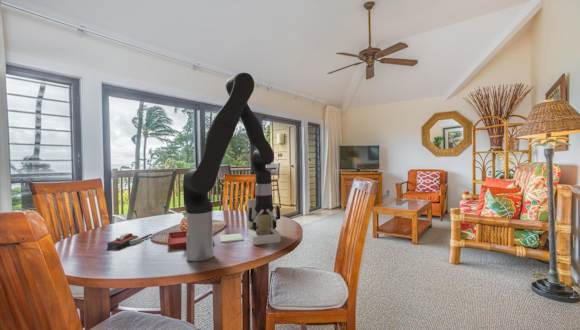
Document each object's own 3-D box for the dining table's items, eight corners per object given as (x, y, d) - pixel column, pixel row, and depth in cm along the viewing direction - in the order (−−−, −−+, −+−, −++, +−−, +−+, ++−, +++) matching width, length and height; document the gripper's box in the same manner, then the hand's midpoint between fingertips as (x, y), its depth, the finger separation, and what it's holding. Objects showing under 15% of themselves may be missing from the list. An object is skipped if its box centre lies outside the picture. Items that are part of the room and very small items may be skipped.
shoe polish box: (270, 238, 125) (269, 212, 125) (269, 241, 120) (269, 214, 120) (259, 238, 125) (259, 212, 125) (258, 242, 120) (258, 214, 120)
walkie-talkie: (122, 251, 112) (153, 237, 132) (122, 240, 112) (153, 228, 131) (103, 250, 113) (136, 236, 133) (103, 240, 113) (136, 227, 133)
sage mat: (220, 242, 120) (220, 241, 120) (219, 236, 130) (219, 235, 130) (243, 240, 123) (243, 239, 123) (240, 234, 132) (240, 233, 132)
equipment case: (253, 245, 116) (252, 203, 116) (248, 235, 130) (247, 199, 130) (280, 242, 119) (279, 202, 119) (272, 233, 133) (272, 197, 133)
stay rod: (270, 227, 130) (270, 204, 130) (269, 226, 132) (269, 204, 132) (272, 227, 131) (272, 204, 131) (271, 226, 132) (271, 204, 132)
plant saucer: (213, 245, 117) (212, 238, 117) (166, 251, 110) (166, 243, 110) (209, 235, 134) (208, 228, 134) (168, 239, 127) (168, 232, 127)
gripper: (249, 195, 116) (249, 233, 117) (281, 193, 121) (282, 230, 121) (246, 193, 124) (247, 229, 124) (277, 191, 128) (278, 226, 128)
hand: (264, 229), depth 122 cm, fingers open, 8 cm apart
